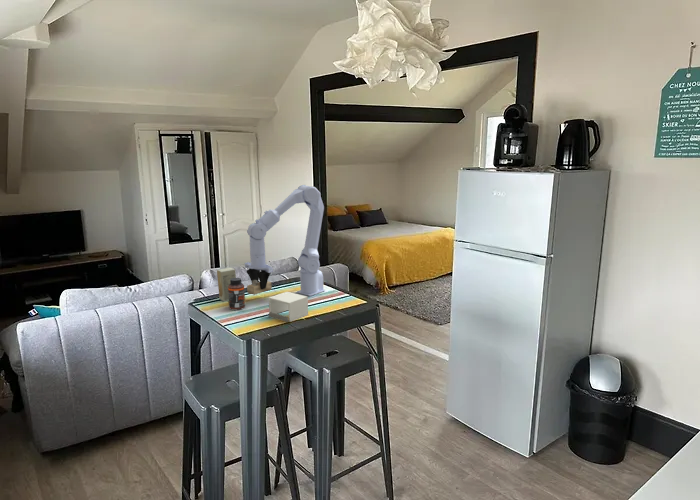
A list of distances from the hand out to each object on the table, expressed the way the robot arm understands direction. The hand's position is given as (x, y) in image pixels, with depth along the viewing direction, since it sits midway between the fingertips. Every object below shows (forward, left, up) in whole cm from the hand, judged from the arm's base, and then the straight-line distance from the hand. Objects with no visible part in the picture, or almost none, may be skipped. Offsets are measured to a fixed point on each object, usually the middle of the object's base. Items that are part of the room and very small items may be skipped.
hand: (259, 287), depth 190 cm
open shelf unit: (+6, +22, -5) cm, 24 cm away
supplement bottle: (+12, +1, -5) cm, 13 cm away
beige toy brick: (0, 0, -1) cm, 1 cm away
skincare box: (+7, -11, -5) cm, 14 cm away
